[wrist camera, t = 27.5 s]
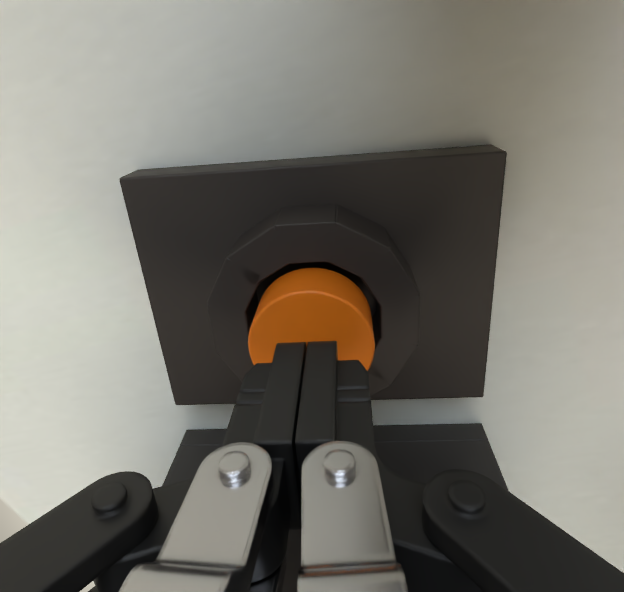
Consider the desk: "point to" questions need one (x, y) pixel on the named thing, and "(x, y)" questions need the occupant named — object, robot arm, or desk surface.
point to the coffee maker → (390, 450)
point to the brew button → (313, 316)
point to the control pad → (325, 260)
